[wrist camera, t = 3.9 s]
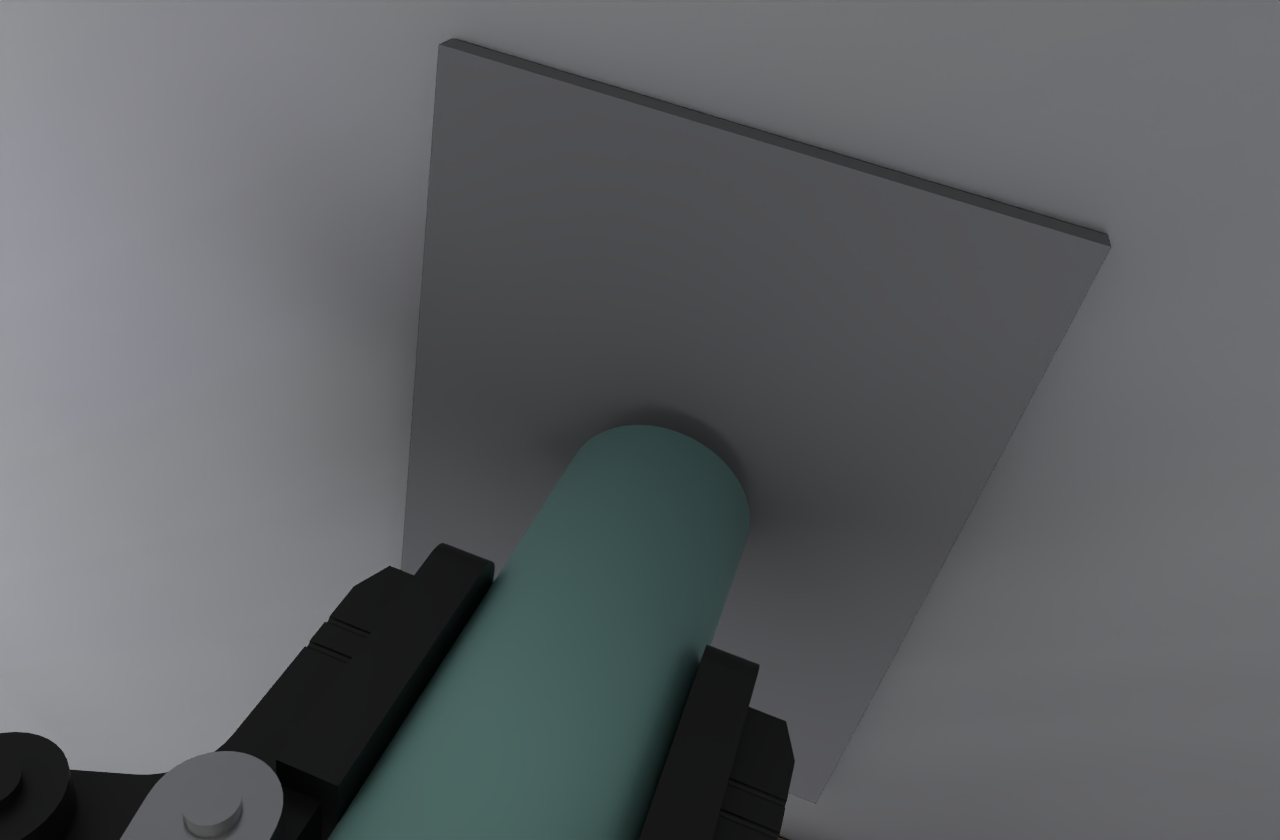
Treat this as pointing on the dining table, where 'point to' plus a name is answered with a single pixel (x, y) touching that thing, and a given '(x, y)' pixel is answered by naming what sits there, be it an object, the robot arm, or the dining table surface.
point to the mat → (725, 353)
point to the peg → (571, 657)
